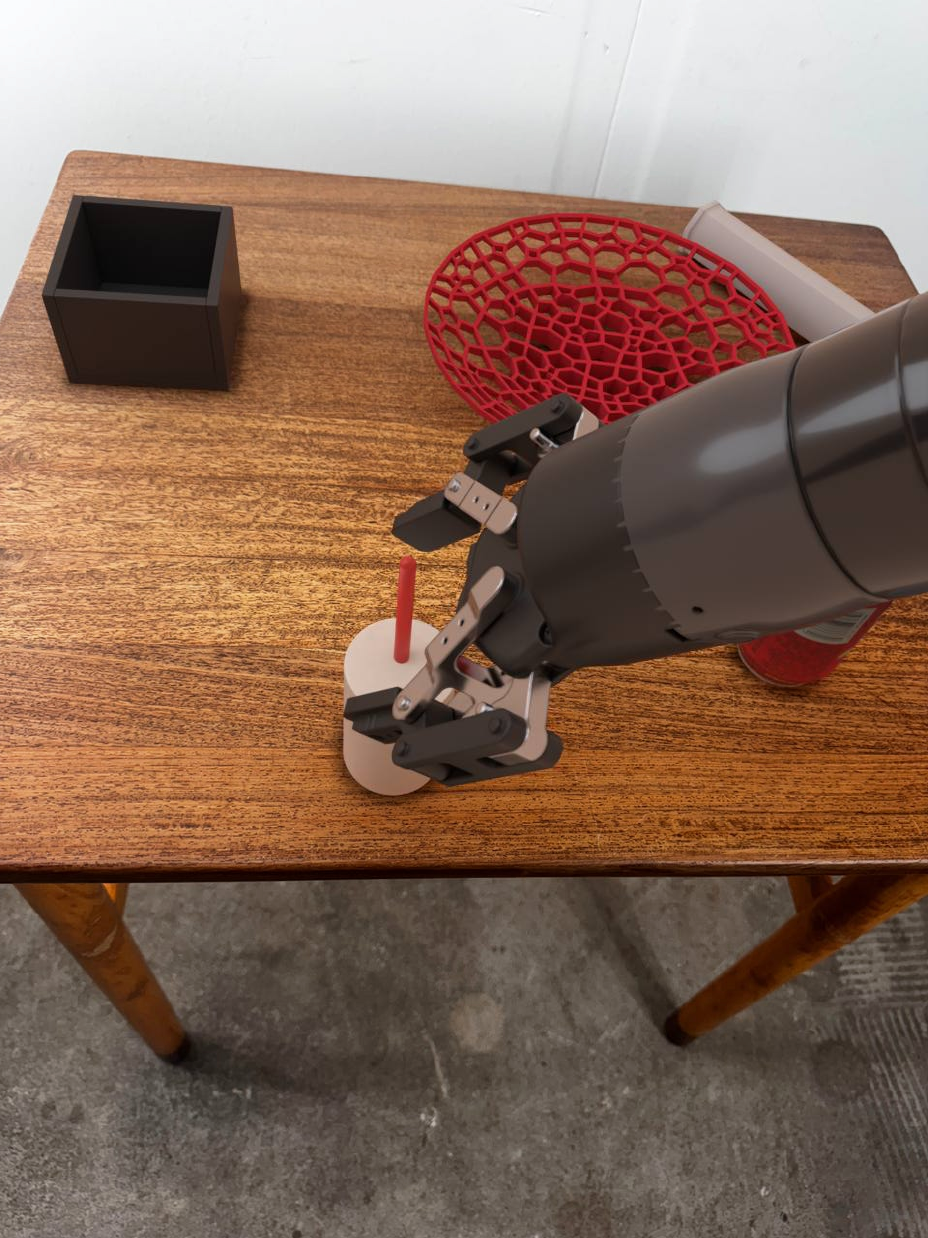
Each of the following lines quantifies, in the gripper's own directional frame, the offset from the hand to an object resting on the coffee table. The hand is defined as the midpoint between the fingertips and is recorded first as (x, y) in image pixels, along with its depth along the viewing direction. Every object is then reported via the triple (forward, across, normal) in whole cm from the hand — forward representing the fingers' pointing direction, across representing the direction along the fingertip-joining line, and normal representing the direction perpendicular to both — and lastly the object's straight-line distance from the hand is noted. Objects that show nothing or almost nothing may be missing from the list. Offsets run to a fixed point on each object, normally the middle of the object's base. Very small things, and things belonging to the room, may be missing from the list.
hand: (385, 623), depth 39 cm
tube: (+5, -47, +37) cm, 60 cm away
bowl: (+13, -35, +22) cm, 44 cm away
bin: (+33, -30, -6) cm, 45 cm away
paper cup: (+14, 0, +11) cm, 18 cm away
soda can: (+1, -12, +32) cm, 34 cm away
